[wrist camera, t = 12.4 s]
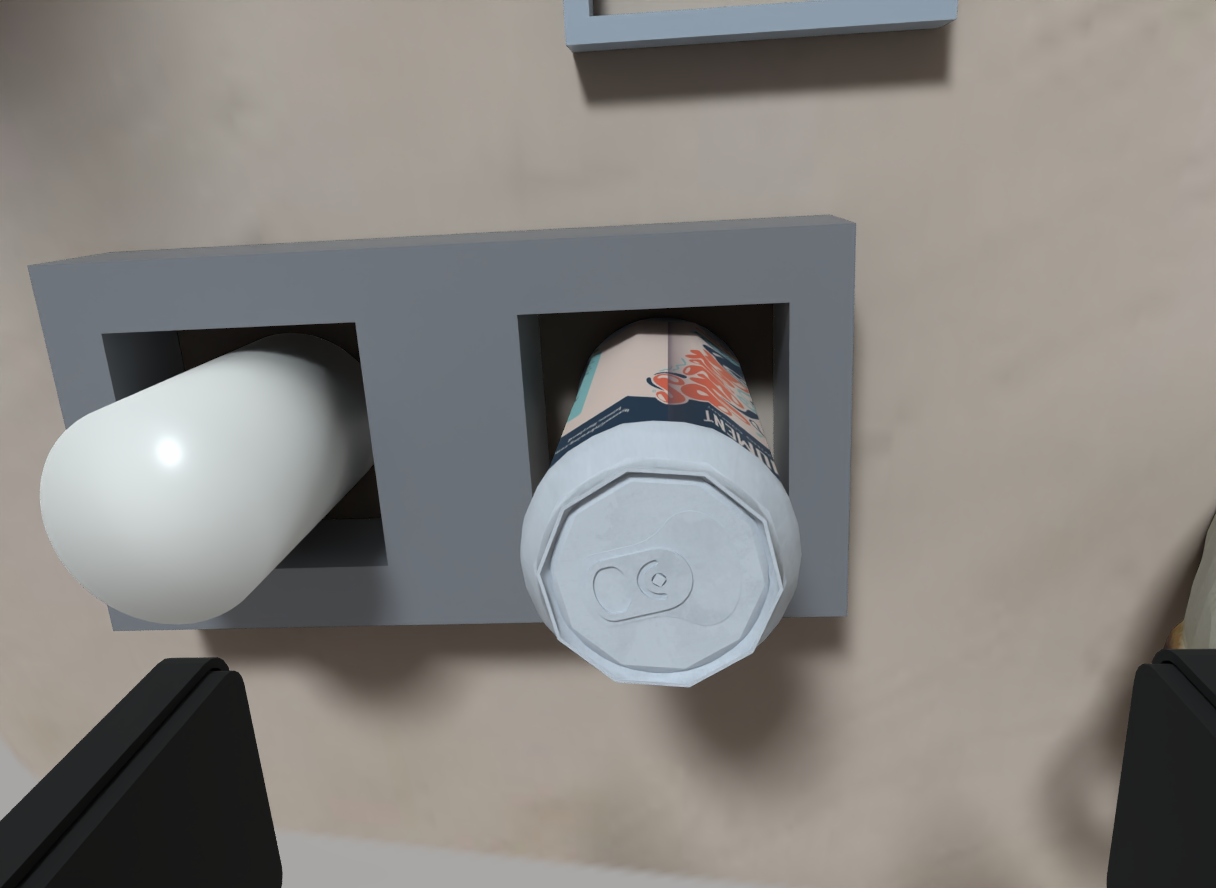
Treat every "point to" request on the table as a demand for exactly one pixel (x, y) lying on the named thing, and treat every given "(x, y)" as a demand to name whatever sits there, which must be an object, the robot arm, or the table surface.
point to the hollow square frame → (748, 22)
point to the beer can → (661, 513)
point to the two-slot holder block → (393, 413)
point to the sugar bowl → (1200, 604)
